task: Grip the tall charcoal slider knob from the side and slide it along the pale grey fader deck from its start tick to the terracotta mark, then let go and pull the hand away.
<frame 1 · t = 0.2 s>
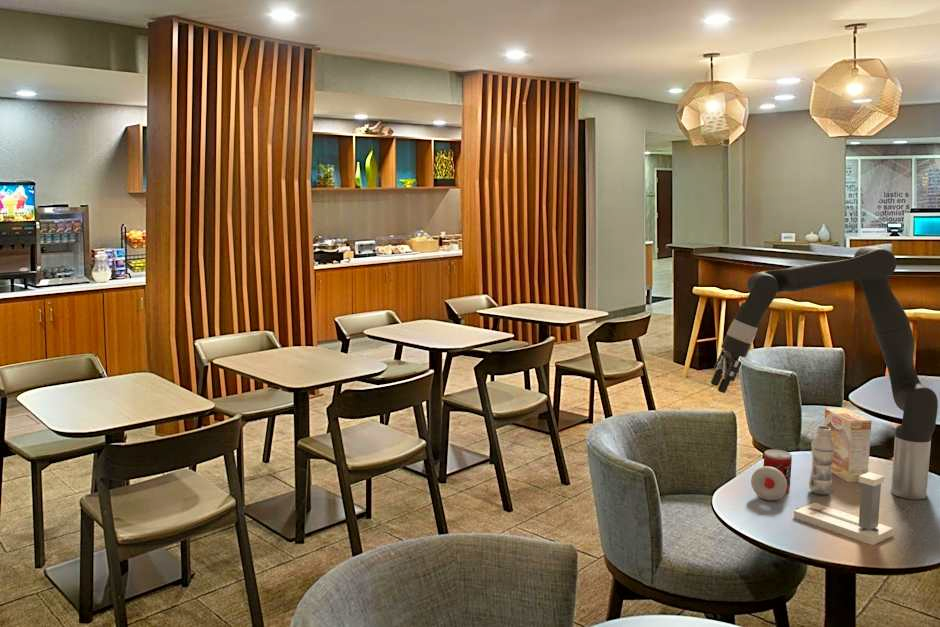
hand: (717, 388, 239), 31 cm above the table, tool tilted 20°, fingers open, 8 cm apart
canned food: (776, 489, 245), on the table
fader deck: (841, 526, 217), on the table
coffeecake box: (843, 474, 257), on the table
plastic bottle: (819, 493, 241), on the table
slider knob: (870, 501, 210), point 9 cm above the table, slide at 0.0 cm
donut: (768, 500, 236), on the table
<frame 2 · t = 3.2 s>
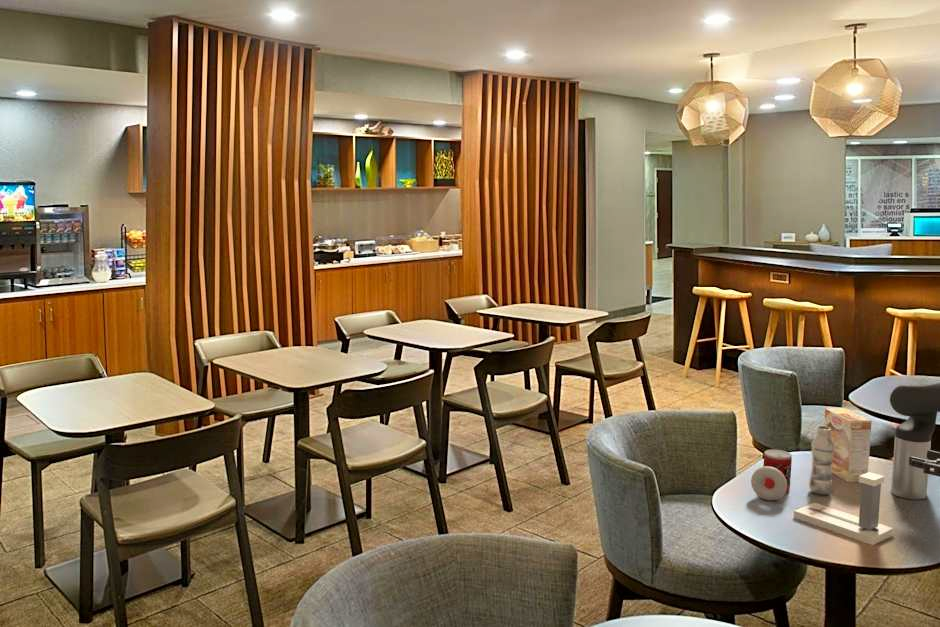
hand: (918, 457, 198), 24 cm above the table, tool horizontal, fingers open, 8 cm apart
nothing on the table moved.
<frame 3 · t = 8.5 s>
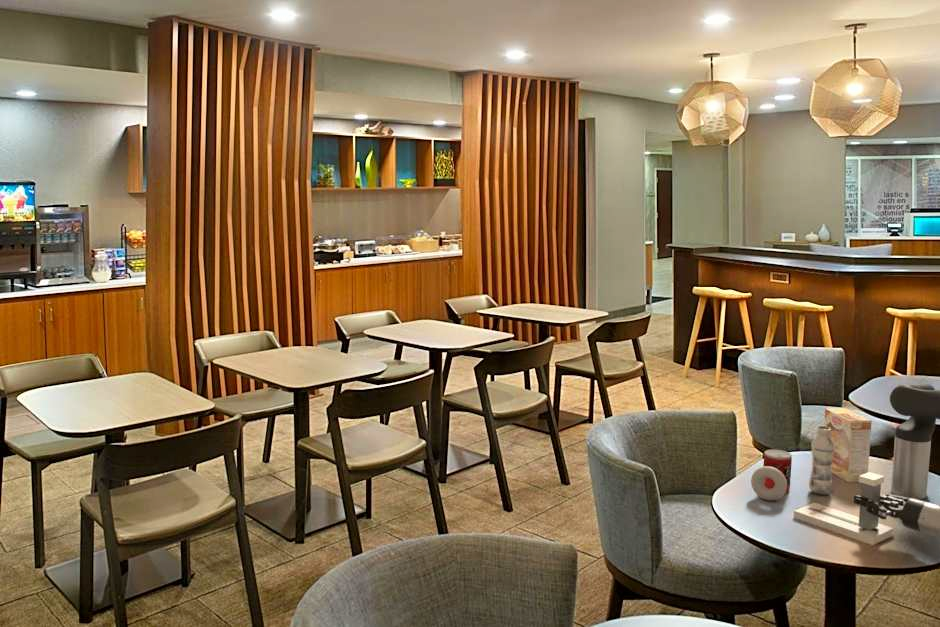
hand: (859, 497, 212), 9 cm above the table, tool horizontal, fingers closed on slider knob, 4 cm apart
slider knob: (870, 501, 210), point 9 cm above the table, slide at 0.0 cm, touching gripper
everything else where it was.
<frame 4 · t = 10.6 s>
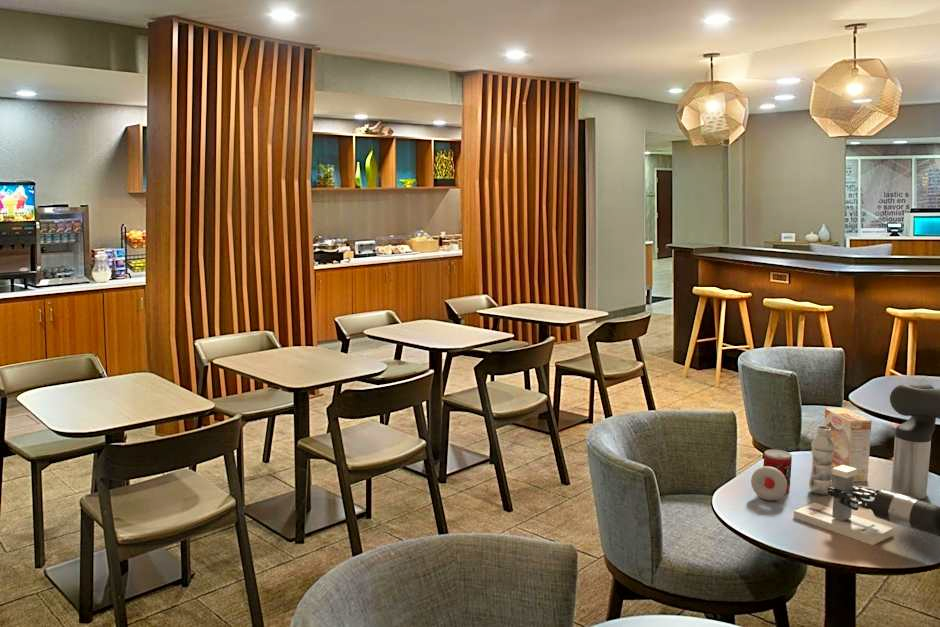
hand: (833, 489, 218), 9 cm above the table, tool horizontal, fingers closed on slider knob, 4 cm apart
slider knob: (843, 493, 215), point 9 cm above the table, slide at 7.2 cm, touching gripper
everything else where it was.
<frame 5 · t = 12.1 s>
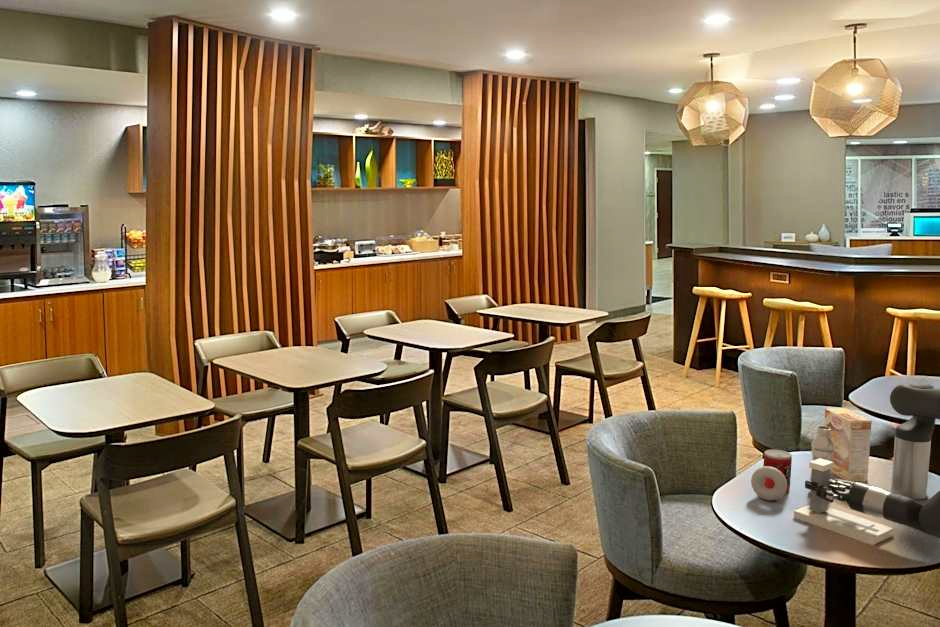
hand: (810, 482, 223), 9 cm above the table, tool horizontal, fingers closed on slider knob, 4 cm apart
slider knob: (820, 486, 221), point 9 cm above the table, slide at 13.8 cm, touching gripper
everything else where it was.
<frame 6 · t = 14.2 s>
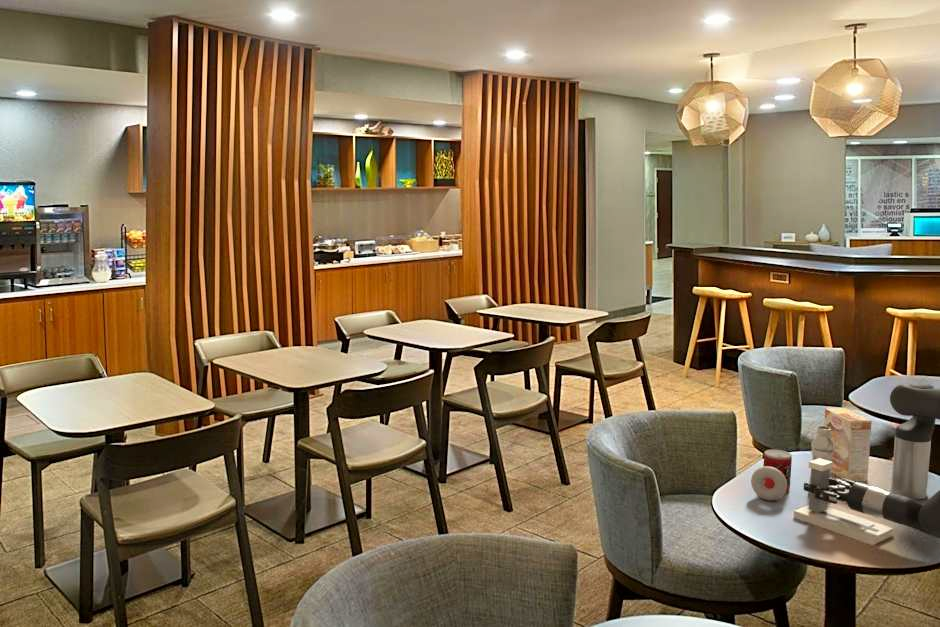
hand: (813, 482, 222), 9 cm above the table, tool horizontal, fingers open, 8 cm apart
slider knob: (819, 485, 221), point 9 cm above the table, slide at 14.0 cm
everything else where it was.
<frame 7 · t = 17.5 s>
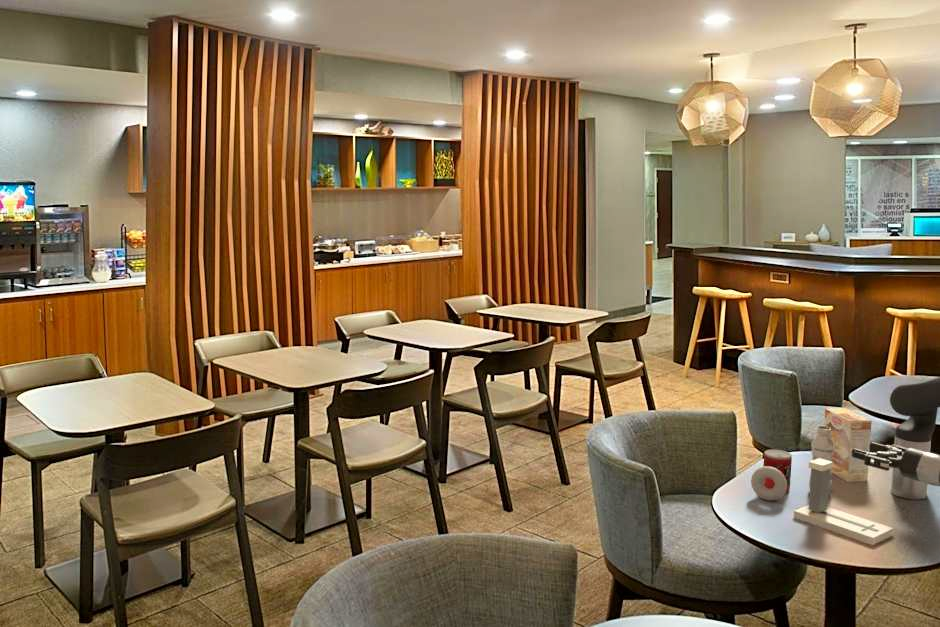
hand: (861, 449, 210), 22 cm above the table, tool horizontal, fingers open, 8 cm apart
nothing on the table moved.
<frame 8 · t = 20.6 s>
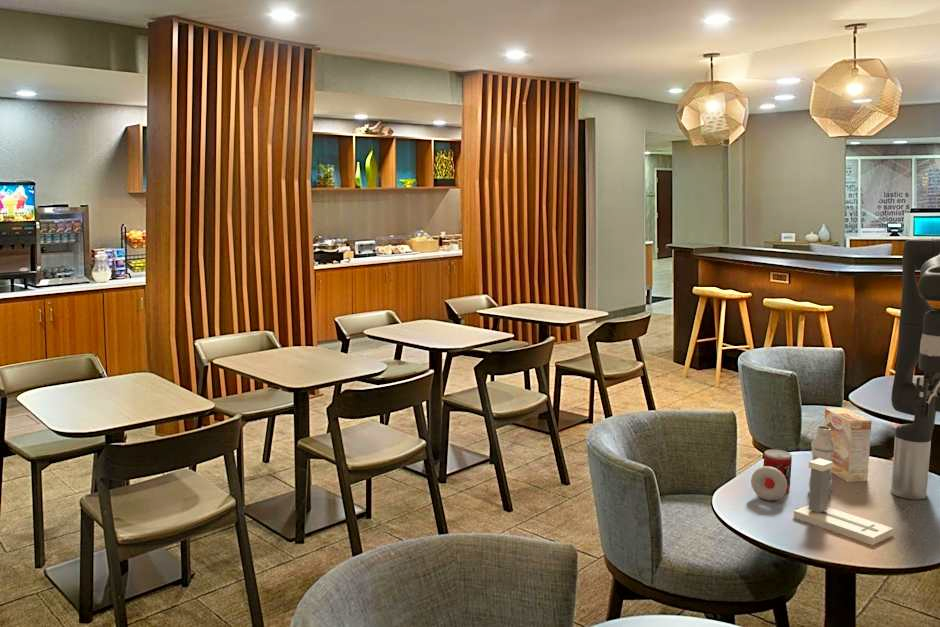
hand: (931, 414, 207), 32 cm above the table, tool pointing down, fingers open, 8 cm apart
nothing on the table moved.
at the end: slider knob slide at 14.0 cm; the gripper is holding nothing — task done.
